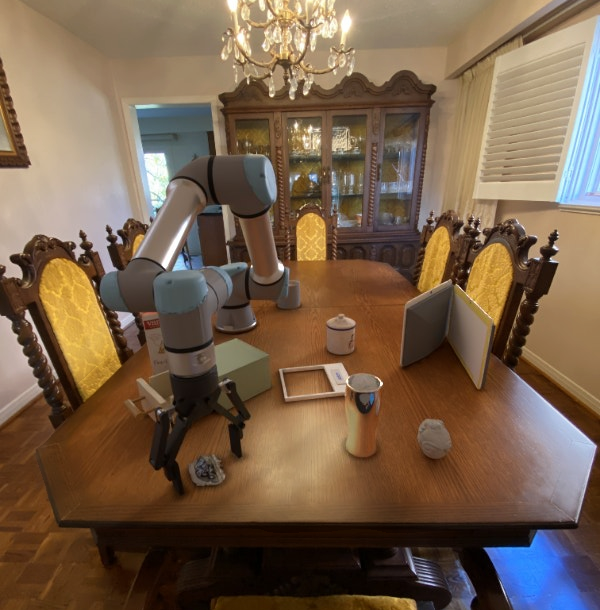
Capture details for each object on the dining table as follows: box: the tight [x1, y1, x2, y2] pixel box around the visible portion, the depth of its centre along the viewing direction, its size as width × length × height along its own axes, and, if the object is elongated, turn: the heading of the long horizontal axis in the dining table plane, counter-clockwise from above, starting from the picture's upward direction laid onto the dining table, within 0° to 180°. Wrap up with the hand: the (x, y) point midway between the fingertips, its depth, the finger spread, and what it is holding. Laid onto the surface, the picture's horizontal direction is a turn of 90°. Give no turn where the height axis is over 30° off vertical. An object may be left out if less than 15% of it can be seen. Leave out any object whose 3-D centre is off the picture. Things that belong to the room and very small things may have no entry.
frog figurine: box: [416, 418, 452, 460], centre depth 66 cm, size 6×7×7 cm
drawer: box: [123, 370, 187, 435], centre depth 79 cm, size 19×13×8 cm
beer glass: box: [344, 372, 383, 458], centre depth 66 cm, size 7×7×15 cm
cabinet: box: [214, 337, 272, 415], centre depth 88 cm, size 16×15×10 cm
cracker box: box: [140, 312, 168, 376], centre depth 92 cm, size 14×6×21 cm, turn 117°
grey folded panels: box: [399, 279, 497, 390], centre depth 100 cm, size 35×22×20 cm, turn 174°
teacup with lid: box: [325, 313, 357, 356], centre depth 109 cm, size 12×9×12 cm
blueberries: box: [187, 454, 226, 487], centre depth 64 cm, size 7×8×2 cm
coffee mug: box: [270, 279, 301, 310], centre depth 149 cm, size 13×10×10 cm
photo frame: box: [278, 362, 350, 403], centre depth 92 cm, size 15×1×18 cm
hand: (209, 471), depth 64 cm, fingers open, 11 cm apart
